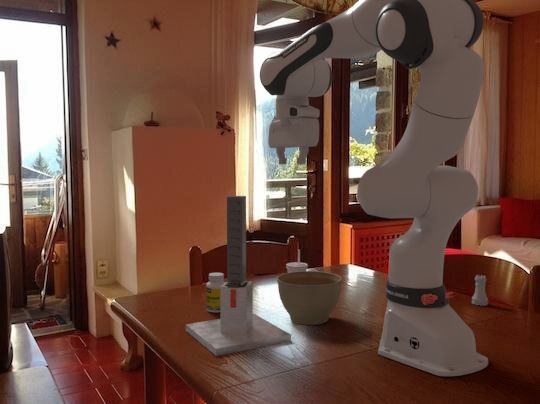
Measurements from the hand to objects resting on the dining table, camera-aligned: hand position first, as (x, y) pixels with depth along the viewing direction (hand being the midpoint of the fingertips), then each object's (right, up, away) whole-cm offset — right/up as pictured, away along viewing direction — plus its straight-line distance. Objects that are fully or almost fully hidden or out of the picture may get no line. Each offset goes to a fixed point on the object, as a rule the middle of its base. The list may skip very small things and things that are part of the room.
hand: (291, 164), depth 139 cm
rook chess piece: (+53, -39, +5) cm, 66 cm away
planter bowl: (+4, -40, -9) cm, 41 cm away
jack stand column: (-13, -33, -22) cm, 42 cm away
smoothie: (+2, -38, +12) cm, 40 cm away
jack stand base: (-13, -41, -21) cm, 48 cm away
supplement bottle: (-20, -39, -1) cm, 44 cm away
